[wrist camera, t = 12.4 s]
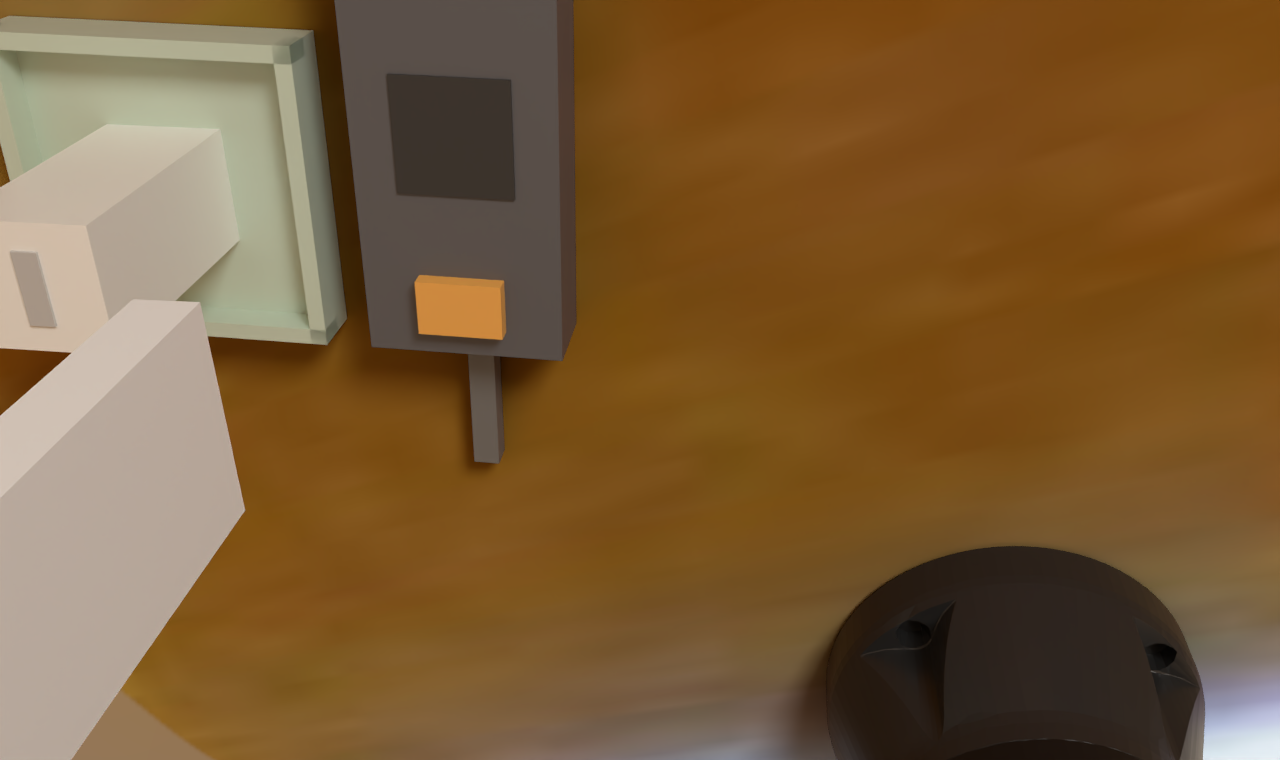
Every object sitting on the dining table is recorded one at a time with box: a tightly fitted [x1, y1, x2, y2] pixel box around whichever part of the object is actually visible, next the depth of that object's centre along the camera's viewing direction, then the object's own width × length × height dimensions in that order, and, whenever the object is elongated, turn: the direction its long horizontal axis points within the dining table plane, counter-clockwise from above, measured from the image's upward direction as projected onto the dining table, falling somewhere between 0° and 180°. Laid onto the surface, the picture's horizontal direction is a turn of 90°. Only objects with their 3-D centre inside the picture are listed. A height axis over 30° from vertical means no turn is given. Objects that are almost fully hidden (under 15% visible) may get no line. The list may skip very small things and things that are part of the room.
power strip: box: [334, 0, 576, 463], centre depth 39 cm, size 30×7×4 cm, turn 179°
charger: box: [0, 124, 240, 353], centre depth 39 cm, size 4×4×9 cm
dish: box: [0, 16, 347, 345], centre depth 42 cm, size 11×11×2 cm
